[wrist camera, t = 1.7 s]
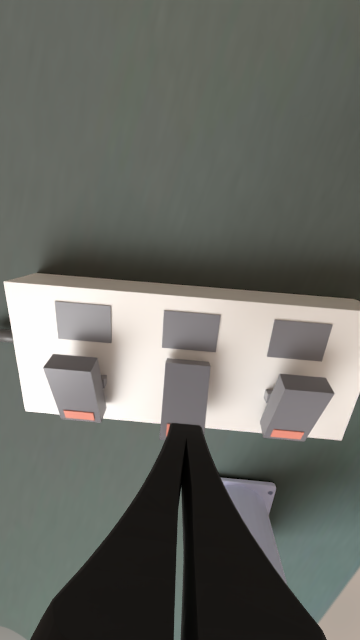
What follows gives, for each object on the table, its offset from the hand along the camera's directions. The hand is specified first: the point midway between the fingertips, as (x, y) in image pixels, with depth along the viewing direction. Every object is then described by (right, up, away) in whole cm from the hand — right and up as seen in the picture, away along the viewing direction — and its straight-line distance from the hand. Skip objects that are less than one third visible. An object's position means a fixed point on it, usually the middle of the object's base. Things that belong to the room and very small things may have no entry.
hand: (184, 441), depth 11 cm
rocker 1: (-7, +1, +5) cm, 9 cm away
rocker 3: (+7, 0, +5) cm, 9 cm away
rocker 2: (0, 0, +5) cm, 5 cm away
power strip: (-2, +3, +9) cm, 10 cm away
